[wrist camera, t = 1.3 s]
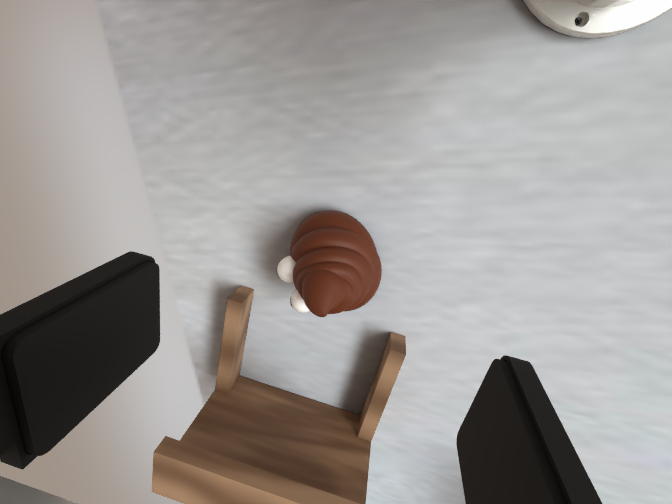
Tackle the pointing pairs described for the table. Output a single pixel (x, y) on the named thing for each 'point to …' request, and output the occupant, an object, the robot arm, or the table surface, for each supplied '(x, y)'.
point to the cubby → (271, 436)
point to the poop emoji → (331, 264)
